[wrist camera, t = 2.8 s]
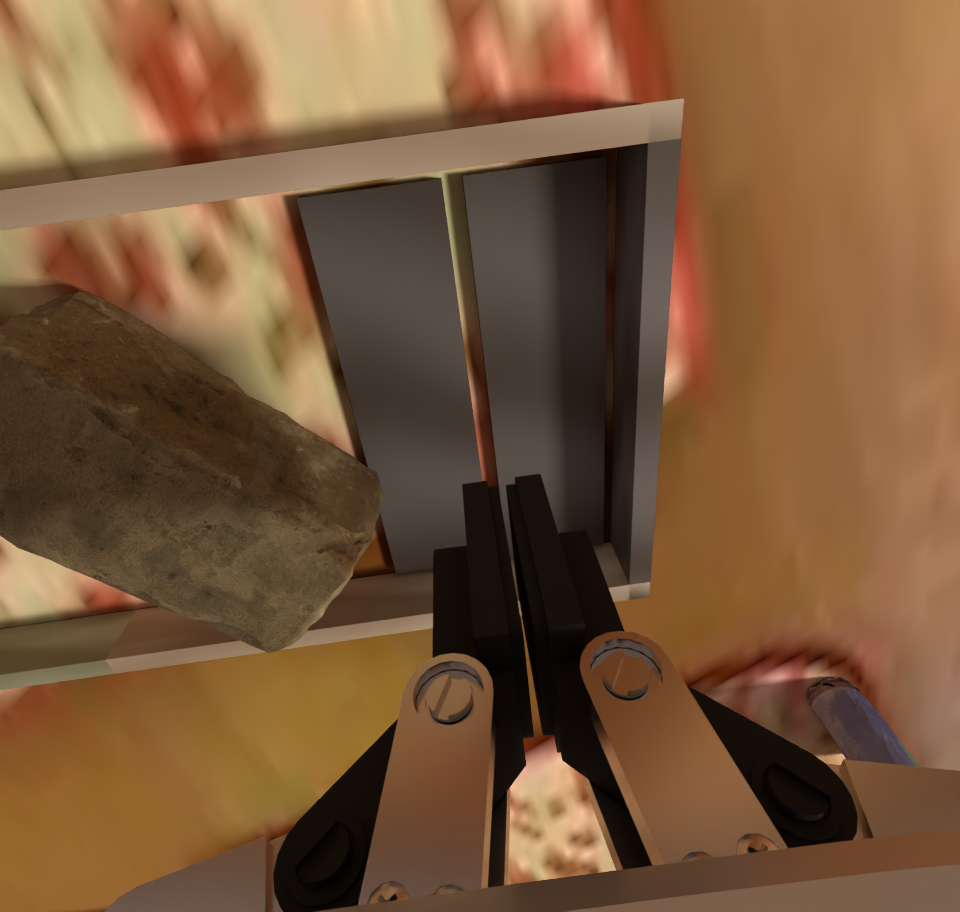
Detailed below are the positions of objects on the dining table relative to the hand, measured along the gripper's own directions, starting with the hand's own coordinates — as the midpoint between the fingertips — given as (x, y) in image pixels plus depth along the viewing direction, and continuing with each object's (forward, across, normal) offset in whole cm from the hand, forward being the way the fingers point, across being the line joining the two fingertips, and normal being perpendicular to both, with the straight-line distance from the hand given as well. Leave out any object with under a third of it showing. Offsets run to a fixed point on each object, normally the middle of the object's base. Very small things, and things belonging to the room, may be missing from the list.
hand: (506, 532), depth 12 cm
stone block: (+8, +9, +1) cm, 12 cm away
